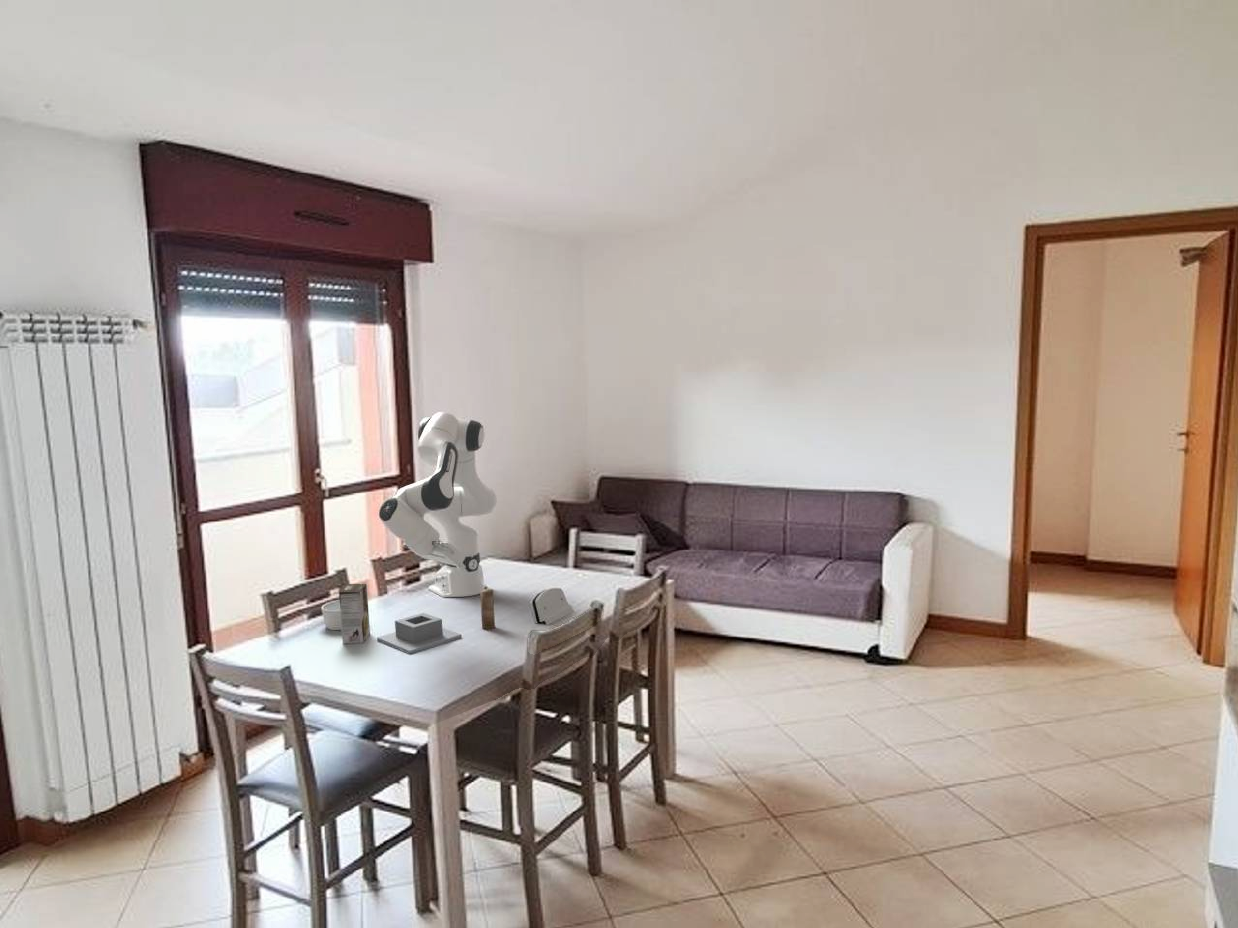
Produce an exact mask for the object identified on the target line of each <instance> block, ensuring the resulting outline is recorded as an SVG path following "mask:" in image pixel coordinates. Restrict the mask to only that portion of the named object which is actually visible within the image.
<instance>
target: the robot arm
mask: <svg viewBox="0 0 1238 928" xmlns="http://www.w3.org/2000/svg"><path fill="white" fill-rule="evenodd" d="M484 430H485V429H484V426H483V425H482V424H481V422H479V421H478V420H477V421H476V420H474V419H470V420H469V419H465V418H459V417H456V416H455V415H454V414H452V413H450V412H447V411H440V412H437V413H435V414H434V415H433V416H426V417H424V418H423V419H422V420H421V421H420V422H419V425H418V428H417V438H418V442H417V452H418V455H419V457H420V458H421V459H422V460H423V461H424V462H425V463H426V464H427V465H430V466H433V467H435V471H434V473H433V474H432V475H430V476H428V477H427V478H425V479H422V480H419V481H417V482H416V481H415V482H414V483H411V484H408V485H405V486H404V487H401V488H398V490H397V491H396V492H395V494H394V495H393V496H392V497H389V498H386V500H385V501H384V502H383V503H382V504H381V506H380V509H379V511H378V512H379V513H378V515H379V520H380V521H381V523H382V524H383V525H384V526H385V528H386V529H387V530H388V531H389V532H390V533H392V534H393V535H394V537H396V538H397V539H399V540H402V541H403V543H402V546H403V547H404V548H405V549H407V550H409V551H411V552H413V553H414V554H415V555H417V556H418V557H420V558H421V559H427V560H429V561H433V562H435V563H437V564H439V565H440V566H441V568H440V569H439V570H437V572H436V573H435V577H434V583H432V584H431V585H430V586H428V590H430V591H431V592H433V593H435V594H437V595H439V596H440V597H442V598H453V597H456V598H457V597H459V598H460V597H462V598H463V597H471V596H475V595H480V591H481V590H484V589H486V588H487V583H485V580H484V572H483V566H482V565H481V564H480V563H481V556H480V552H479V539H478V533H477V531H476V529H474V528H473V527H470V526H469V525H466V524H463V523H462V522H461V521H460V518H465V517H467V518H468V517H479V516H483V515H484V516H485V515H488V514H491V513H493V511H494V510H495V508H496V505H497V495H496V493H495V491H494V490H493V489H492V488H491V487H490V486H488V485H486V484H485V483H484V482H483V481H482V480H481V479H480V478H479V475H478V473H477V468H476V451H478V450H479V449H481V448H482V446H483V443H484V440H485V431H484ZM454 484H455V485H458V486H454ZM425 515H428V516H429V517H430V518H432V519H433V520H435V522H437V523H438V524H439V525H440V526H441V528H442V530H443V532H444V536H445V540H446V541H441V539H440V537H441V536H440V533H439V531H438V530H437V529H435V527H434V526H432V525H431V524H430V523H429V522H428V521H426V520H425V519H424V517H425Z"/></svg>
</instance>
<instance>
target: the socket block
mask: <svg viewBox="0 0 1238 928" xmlns="http://www.w3.org/2000/svg"><path fill="white" fill-rule="evenodd" d="M394 627H395V631H394V632H391V633H388V634H384V635H382V636H378V637H377V638H376V639H377V640H376V641H377V642H379V641H380V643H382V644H384V643H385V645H387V646H388V647H389V646H390V647H391V646H392V648H393V649H396V648H397V649H396V650H399V649H401V650H403V651H402V652H404V651H405V652H404V653H406V652H408V653H412V654H414V653H413V652H415V653H417V652H416V651H418V652H421V651H424V650H427V649H430V648H434V647H436V646H440V645H443V644H446V643H450V642H453V641H455V640H459V639H462V638H463V637H462V634H461V633H459V632H455V631H453V630H451V629H447V628H445V627H443V620H442V618H439V617H437V616H434V615H431V614H428V613H425V612H421V613H417V614H414V615H412V616H411V615H410V616H407V617H403V618H400V619H397V620H395V621H394ZM423 649H424V650H423ZM401 650H400V651H401ZM420 650H421V651H420ZM408 653H407V654H408Z"/></svg>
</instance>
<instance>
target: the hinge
mask: <svg viewBox="0 0 1238 928" xmlns="http://www.w3.org/2000/svg"><path fill="white" fill-rule="evenodd" d="M529 606H530V611H531V615H532V619H533V624H538V623H543V622H545V625H546V626H547V625H550V624H552V623H554V622H556V621H558V620H560V619H561V618H563V617H565V616H566V615H568V614H570V613H572V612H573V611H574V609H573V605H571V604H569V602H568V600H567V598H566V595H565V594H564V590H563V589H562V588H561V587H560V588H559V587H552V588H547V589H544V590H541V591H540V592H539V593H536V594H535V595H534V597H532V598H531V600H530V601H529Z"/></svg>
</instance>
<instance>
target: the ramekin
mask: <svg viewBox="0 0 1238 928" xmlns="http://www.w3.org/2000/svg"><path fill="white" fill-rule="evenodd" d="M321 612H322V613H321V614H322V618H323V622H324V626H325V627H326V628H327V629H328V630H329V631H335V630H341V631H342V624H341V610H340V599H337V600H333V601H329V602H326V603H325V604H323V605H322V606H321Z"/></svg>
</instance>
